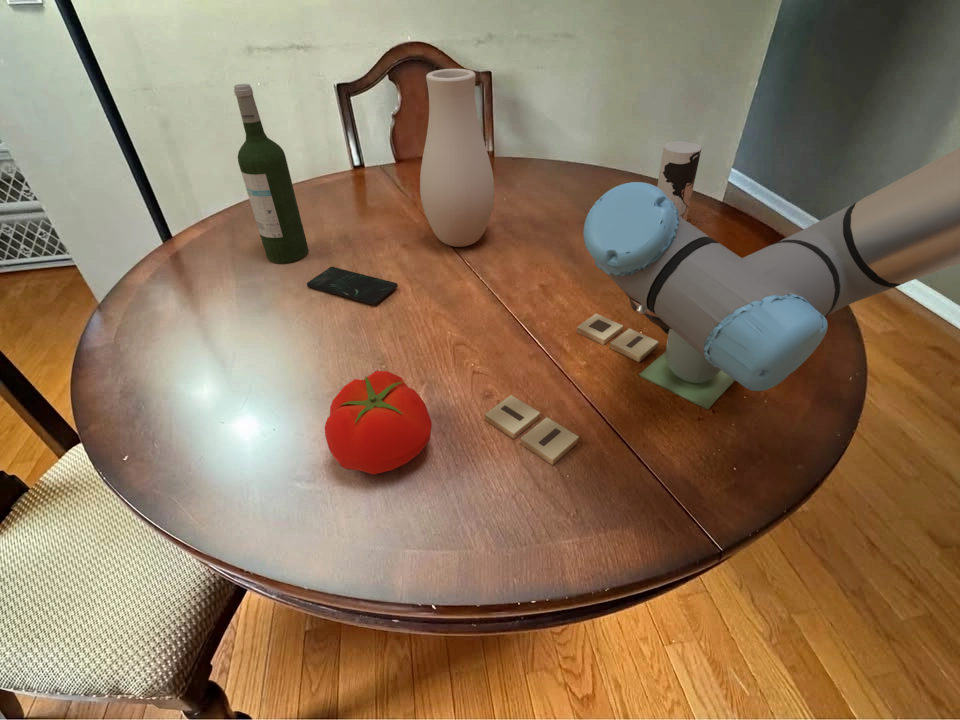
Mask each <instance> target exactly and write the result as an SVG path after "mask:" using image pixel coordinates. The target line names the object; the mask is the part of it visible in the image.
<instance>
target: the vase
mask: <svg viewBox="0 0 960 720" xmlns="http://www.w3.org/2000/svg"><path fill="white" fill-rule="evenodd" d="M476 75H477V74H476V73H475V72H474V71H473V70H470V69H466V68H465V69H464V68H444V69H442V68H441V69H437V70H433V71H430V72H427V74H426V76H425V79H426V85H427V93H428V107H429V109H428V123H427V131H426V137H425V143H424V149H423V154H422V160H421V166H420V174H419V175H420V177H419V193H420V200H421V205H422V210H423V212H424V215H425V217H426V220H427V222H428V224H429V226H430V228H431V230H432V231H433V233H434V234H435V236H436V237H437V239H438V240H439V241H440V242H441V243H443V244H445V245H447V246H450V247H453V248H454V247H455V248H463V247H468V246H471V245H473V244H475V243H476V242H478V241H479V240H480V239H481V238H482V236H483V235H484V232H485V231H486V229H487V228H488V224H489V222H490V219H491V216H492V212H493V208H494V202H495V179H494V173H493V168H492V164H491V160H490V156H489V154H488V150H487V146H486V143H485V140H484V136H483V133H482V130H481V126H480V122H479V121H480V120H479V117H478V110H477V102H476V101H477V100H476Z"/></svg>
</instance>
